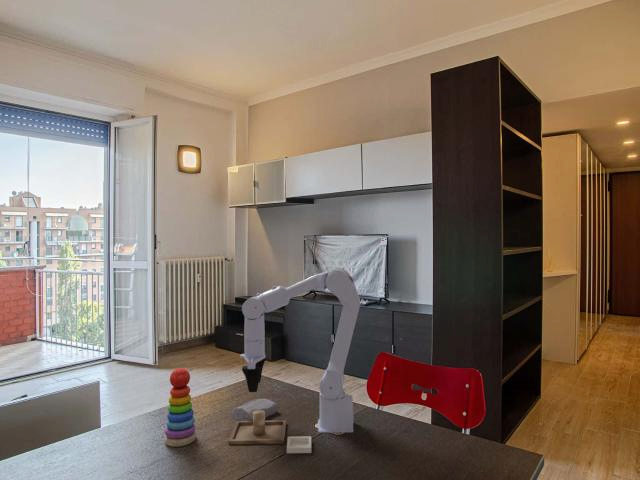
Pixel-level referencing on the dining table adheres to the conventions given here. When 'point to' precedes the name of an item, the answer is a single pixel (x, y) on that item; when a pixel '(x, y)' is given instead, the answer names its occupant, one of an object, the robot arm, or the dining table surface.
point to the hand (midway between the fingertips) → (254, 387)
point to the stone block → (254, 409)
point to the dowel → (259, 422)
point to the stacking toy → (180, 411)
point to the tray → (245, 436)
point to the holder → (299, 444)
